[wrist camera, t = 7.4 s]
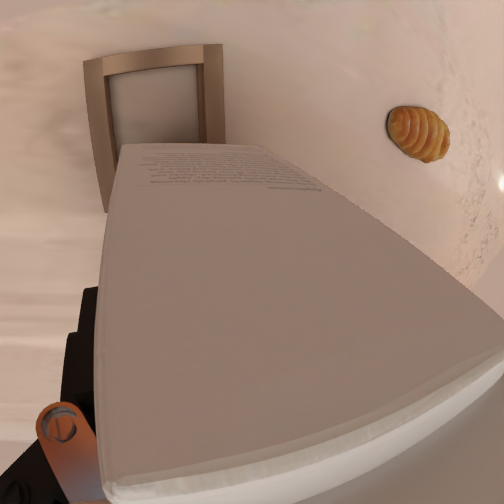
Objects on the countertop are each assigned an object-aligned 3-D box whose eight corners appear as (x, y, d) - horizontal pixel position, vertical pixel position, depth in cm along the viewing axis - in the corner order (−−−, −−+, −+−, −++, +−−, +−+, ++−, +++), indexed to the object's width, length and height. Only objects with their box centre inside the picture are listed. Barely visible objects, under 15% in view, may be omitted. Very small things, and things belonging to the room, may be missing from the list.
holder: (212, 47, 24) (222, 44, 21) (218, 179, 30) (227, 192, 28) (90, 63, 21) (83, 61, 18) (108, 198, 28) (104, 213, 25)
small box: (244, 289, 18) (366, 510, 8) (128, 298, 16) (172, 568, 5) (264, 141, 14) (536, 339, 4) (120, 139, 12) (76, 504, 1)
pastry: (376, 145, 34) (397, 154, 31) (390, 92, 31) (413, 97, 28) (424, 161, 38) (444, 171, 35) (437, 116, 35) (459, 122, 32)
